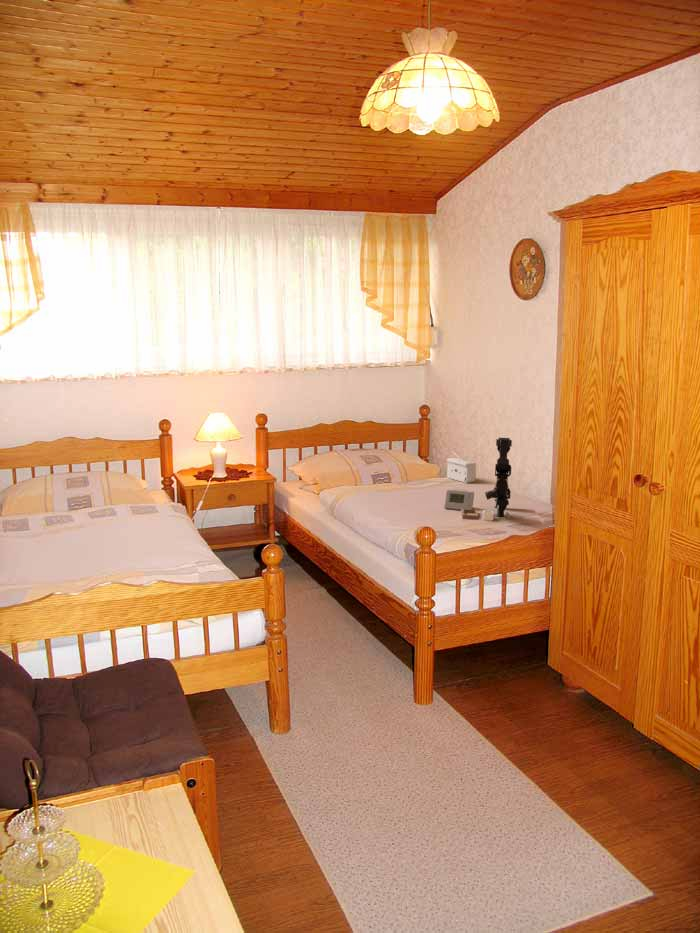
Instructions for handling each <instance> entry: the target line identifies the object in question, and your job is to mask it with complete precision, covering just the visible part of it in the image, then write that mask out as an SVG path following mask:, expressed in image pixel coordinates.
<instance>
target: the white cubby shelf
mask: <svg viewBox="0 0 700 933" xmlns="http://www.w3.org/2000/svg"><path fill="white" fill-rule="evenodd" d="M493 514H494V511H493V510H488V509H487V510H482V521H493V520H494V519H493Z"/></svg>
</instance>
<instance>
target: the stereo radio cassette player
mask: <svg viewBox="0 0 700 933" xmlns="http://www.w3.org/2000/svg"><path fill="white" fill-rule="evenodd" d="M450 451H451V452H452V453H453V454H454V455H455V456H456V457H449V458H446V461H447V473H446V476H447V479H450V480H453V481H454V480H455V481H458V482H461V483H465V484H468V483H472V482H473V483H474V482H475V481H476V476H477V462H473V461H470V460H466V459H461V458H460V456H458V454H456V453H455V452H454V451H453V449H450Z"/></svg>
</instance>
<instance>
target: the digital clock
mask: <svg viewBox="0 0 700 933" xmlns="http://www.w3.org/2000/svg"><path fill="white" fill-rule="evenodd" d="M474 497H475V492H474V491H471V490H466V489H454V488H453V489H452V488H447V489H445V494H444V503H443V508H444V509H446V510H447V509H448V510H453V511H462V509H473V505H474V499H475V498H474Z"/></svg>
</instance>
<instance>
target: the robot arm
mask: <svg viewBox="0 0 700 933" xmlns="http://www.w3.org/2000/svg"><path fill="white" fill-rule="evenodd" d="M512 444H513V440H512V439H510V437H498V439H497V438H496V442H495V446H496V449H497V451H498V453H499V457H498V458H497V460H496V463H495V466H494V467H495V470H494V471H495V472H494V476H495V477H496V482H495V485H494V486H495V487H493V489H491V490H489V491H485V492H484V494H485V497H486V500H491V499H494V501H495V506H494V508H495V509H497V505H498V506H499V514H500V516H502V514H503V512H504V513H505V510H506V509H507V508H508V506H509V505H510V501H509V500H510V499H511V493H512V492H511V490H510V487H509V483H508V482H509V477H511V475H512V466H511V464H510V460H509V459H508V453H509V452H510V450H511V447H512Z"/></svg>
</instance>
